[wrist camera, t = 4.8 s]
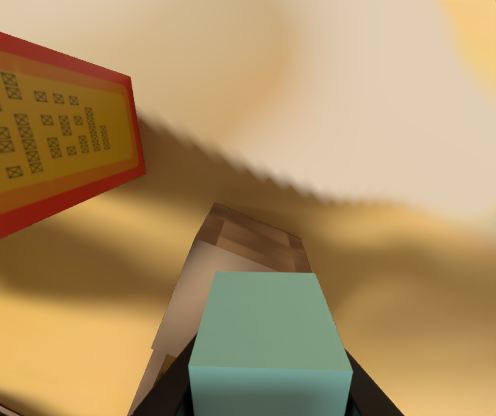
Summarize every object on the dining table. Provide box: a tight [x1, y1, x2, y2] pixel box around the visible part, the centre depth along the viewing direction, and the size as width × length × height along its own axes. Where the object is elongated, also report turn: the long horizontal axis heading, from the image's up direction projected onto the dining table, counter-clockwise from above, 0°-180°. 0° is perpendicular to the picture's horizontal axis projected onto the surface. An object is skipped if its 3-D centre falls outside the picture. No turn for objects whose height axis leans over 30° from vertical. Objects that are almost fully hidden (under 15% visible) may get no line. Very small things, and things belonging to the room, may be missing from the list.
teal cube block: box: [188, 271, 353, 416], centre depth 8 cm, size 4×4×4 cm
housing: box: [127, 203, 312, 416], centre depth 21 cm, size 7×30×6 cm, turn 157°
